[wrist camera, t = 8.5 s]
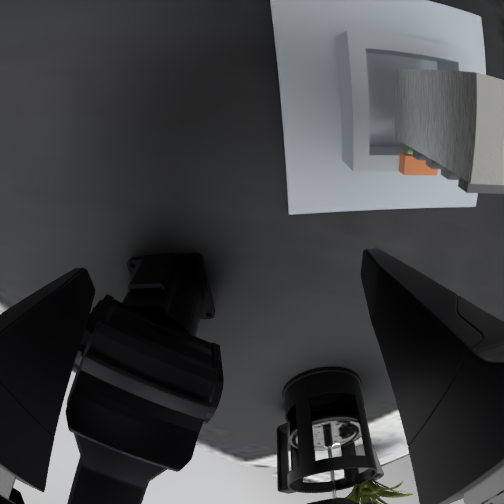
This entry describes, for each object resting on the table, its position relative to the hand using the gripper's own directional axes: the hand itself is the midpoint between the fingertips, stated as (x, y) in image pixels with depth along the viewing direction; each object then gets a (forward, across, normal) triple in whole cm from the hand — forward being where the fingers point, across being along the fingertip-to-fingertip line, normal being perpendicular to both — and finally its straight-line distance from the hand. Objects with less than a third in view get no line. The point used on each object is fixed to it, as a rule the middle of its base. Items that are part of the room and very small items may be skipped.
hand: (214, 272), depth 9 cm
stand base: (+13, -11, -4) cm, 17 cm away
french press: (+13, -6, +27) cm, 31 cm away
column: (+10, -11, -4) cm, 15 cm away
